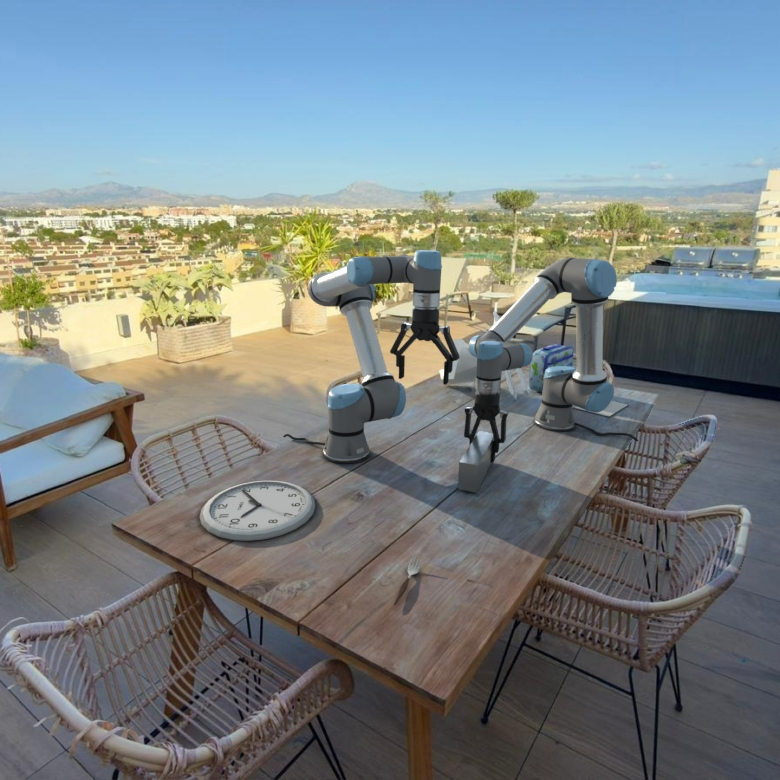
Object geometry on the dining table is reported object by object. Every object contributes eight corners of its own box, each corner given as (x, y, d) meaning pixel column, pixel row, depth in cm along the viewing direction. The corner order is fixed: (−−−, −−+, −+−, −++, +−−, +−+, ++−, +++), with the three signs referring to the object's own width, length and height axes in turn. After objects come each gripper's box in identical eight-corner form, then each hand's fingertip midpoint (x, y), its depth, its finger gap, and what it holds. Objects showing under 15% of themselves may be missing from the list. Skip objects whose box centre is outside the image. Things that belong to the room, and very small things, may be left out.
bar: (477, 455, 173) (478, 430, 171) (494, 457, 171) (495, 433, 169) (457, 489, 151) (459, 461, 148) (476, 492, 149) (478, 465, 147)
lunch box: (545, 397, 238) (550, 352, 231) (524, 391, 245) (529, 348, 239) (572, 386, 255) (578, 344, 249) (552, 381, 262) (557, 340, 256)
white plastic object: (461, 429, 252) (437, 405, 227) (444, 352, 274) (420, 323, 250) (535, 404, 240) (518, 377, 215) (510, 326, 262) (492, 293, 237)
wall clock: (312, 532, 127) (184, 536, 124) (312, 538, 127) (185, 542, 125) (317, 476, 155) (214, 478, 153) (318, 481, 156) (214, 483, 153)
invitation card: (608, 416, 214) (573, 407, 224) (608, 416, 214) (573, 408, 224) (628, 404, 229) (594, 396, 238) (628, 405, 229) (594, 397, 238)
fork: (388, 605, 105) (388, 597, 104) (412, 560, 119) (412, 553, 119) (400, 609, 104) (400, 600, 104) (423, 563, 119) (423, 555, 118)
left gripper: (379, 306, 147) (378, 378, 153) (466, 312, 138) (461, 389, 145) (389, 302, 154) (388, 372, 160) (473, 309, 145) (468, 382, 151)
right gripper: (455, 391, 162) (452, 459, 169) (516, 398, 155) (510, 469, 162) (461, 384, 168) (458, 450, 176) (519, 391, 162) (514, 459, 169)
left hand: (423, 380), depth 152 cm, fingers open, 13 cm apart
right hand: (483, 459), depth 169 cm, fingers closed on bar, 6 cm apart
